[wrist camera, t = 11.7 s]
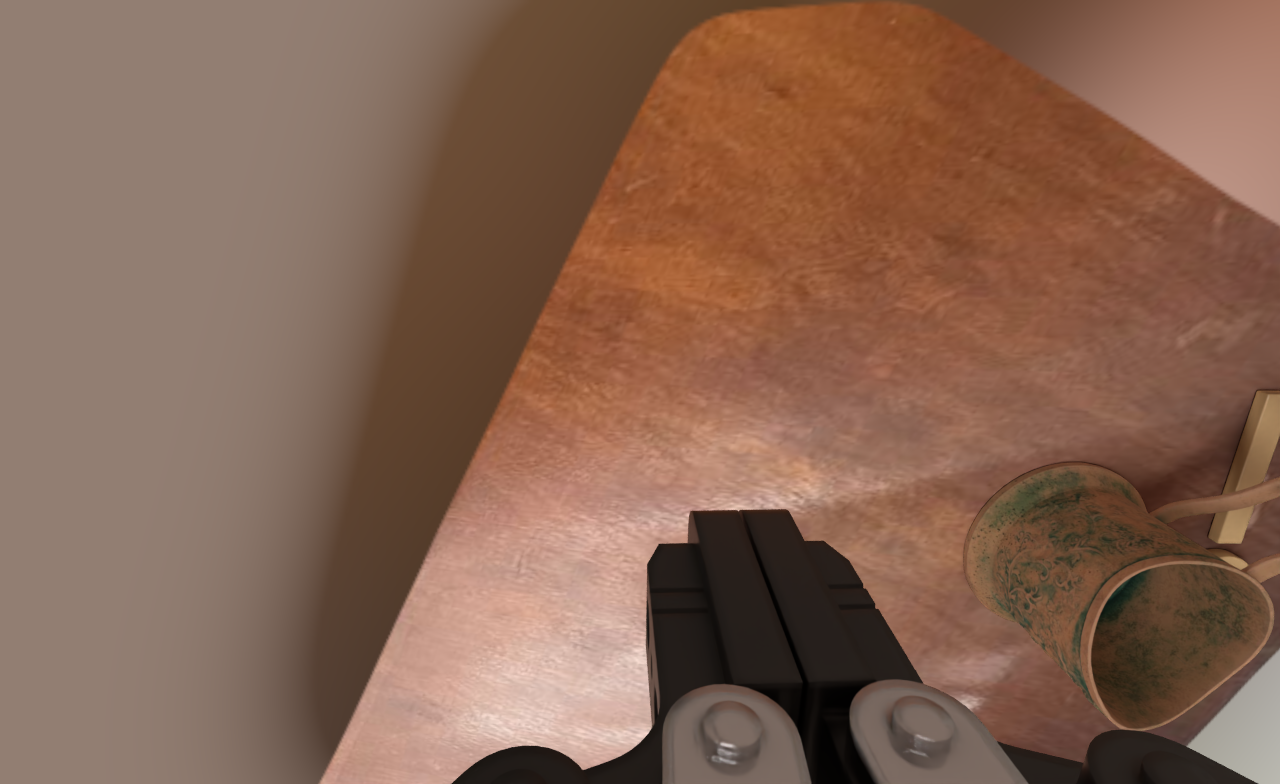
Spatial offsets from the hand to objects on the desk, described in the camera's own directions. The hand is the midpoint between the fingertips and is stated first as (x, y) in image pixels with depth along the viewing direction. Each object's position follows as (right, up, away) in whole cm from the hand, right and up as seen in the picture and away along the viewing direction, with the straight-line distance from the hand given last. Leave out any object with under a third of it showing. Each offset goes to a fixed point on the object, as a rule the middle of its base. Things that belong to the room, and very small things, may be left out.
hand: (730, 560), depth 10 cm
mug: (+27, -5, +30) cm, 41 cm away
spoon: (+36, -5, +31) cm, 47 cm away
